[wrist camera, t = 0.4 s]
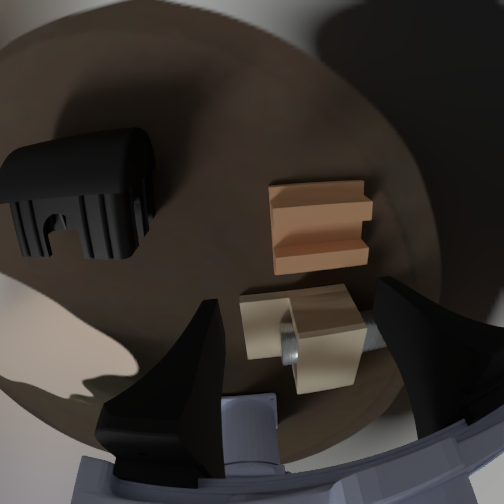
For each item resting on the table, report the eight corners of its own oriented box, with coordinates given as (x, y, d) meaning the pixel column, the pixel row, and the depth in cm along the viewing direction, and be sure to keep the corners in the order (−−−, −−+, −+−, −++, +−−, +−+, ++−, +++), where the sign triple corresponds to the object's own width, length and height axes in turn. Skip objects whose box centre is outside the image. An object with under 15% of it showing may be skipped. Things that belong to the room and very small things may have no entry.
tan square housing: (336, 340, 27) (353, 384, 22) (247, 351, 27) (250, 399, 22) (343, 283, 24) (367, 327, 19) (239, 295, 24) (240, 345, 19)
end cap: (157, 124, 17) (119, 130, 11) (161, 220, 20) (133, 265, 14) (45, 140, 17) (-12, 158, 11) (55, 222, 20) (9, 260, 14)
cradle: (356, 262, 23) (365, 275, 21) (274, 271, 23) (277, 286, 21) (361, 180, 20) (373, 187, 18) (268, 185, 20) (271, 193, 18)
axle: (385, 299, 24) (401, 324, 20) (378, 327, 25) (392, 353, 22) (277, 315, 24) (283, 345, 20) (278, 344, 25) (283, 374, 22)
